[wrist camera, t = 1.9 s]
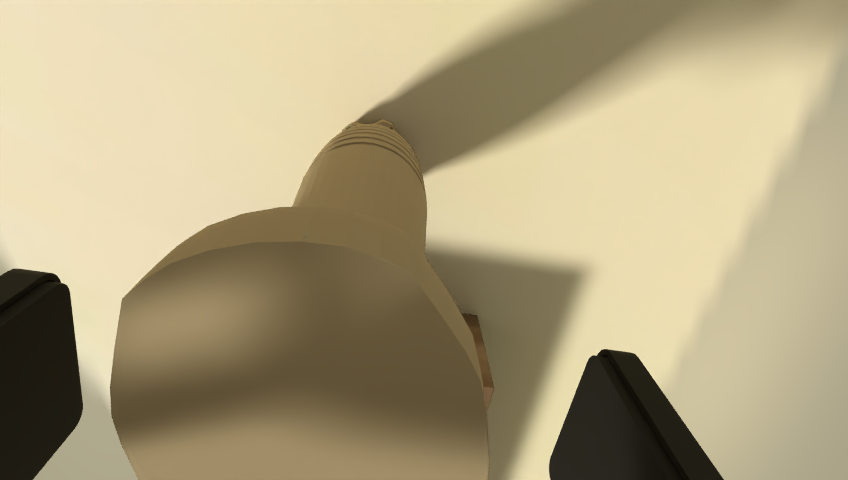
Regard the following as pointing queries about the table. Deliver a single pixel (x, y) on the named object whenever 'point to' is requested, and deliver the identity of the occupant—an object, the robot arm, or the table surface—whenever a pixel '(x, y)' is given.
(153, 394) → the handle
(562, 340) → the table surface
